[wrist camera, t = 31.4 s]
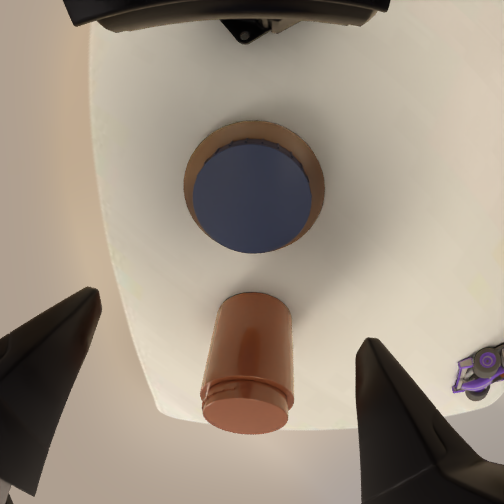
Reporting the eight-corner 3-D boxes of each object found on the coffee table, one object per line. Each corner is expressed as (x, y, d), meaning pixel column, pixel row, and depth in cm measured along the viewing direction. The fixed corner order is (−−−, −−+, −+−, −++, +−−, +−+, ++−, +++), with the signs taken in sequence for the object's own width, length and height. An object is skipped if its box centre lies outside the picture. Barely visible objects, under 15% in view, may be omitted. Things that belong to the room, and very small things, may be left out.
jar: (201, 311, 26) (176, 406, 18) (264, 279, 23) (257, 384, 15) (245, 352, 28) (236, 441, 20) (305, 328, 26) (311, 425, 18)
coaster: (159, 174, 19) (156, 177, 19) (272, 92, 16) (272, 92, 16) (239, 268, 23) (238, 273, 22) (347, 208, 20) (349, 212, 19)
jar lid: (316, 232, 20) (319, 245, 19) (215, 248, 21) (210, 262, 20) (298, 127, 17) (301, 132, 15) (184, 152, 18) (176, 159, 16)
